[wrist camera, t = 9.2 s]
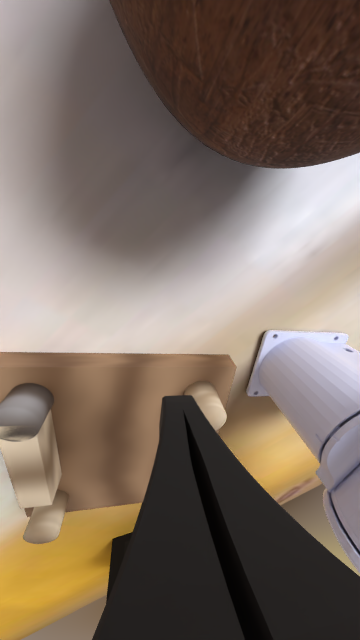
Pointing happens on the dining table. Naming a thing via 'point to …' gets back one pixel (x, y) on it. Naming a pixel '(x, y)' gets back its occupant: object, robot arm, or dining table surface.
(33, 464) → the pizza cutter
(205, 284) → the dining table surface
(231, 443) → the dining table surface
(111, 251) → the dining table surface
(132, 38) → the wooden sphere
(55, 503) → the stool seat
